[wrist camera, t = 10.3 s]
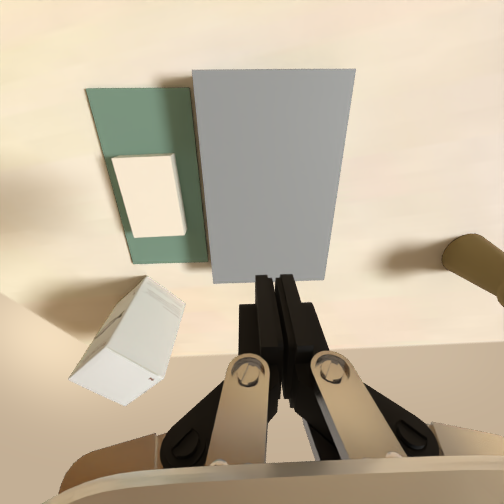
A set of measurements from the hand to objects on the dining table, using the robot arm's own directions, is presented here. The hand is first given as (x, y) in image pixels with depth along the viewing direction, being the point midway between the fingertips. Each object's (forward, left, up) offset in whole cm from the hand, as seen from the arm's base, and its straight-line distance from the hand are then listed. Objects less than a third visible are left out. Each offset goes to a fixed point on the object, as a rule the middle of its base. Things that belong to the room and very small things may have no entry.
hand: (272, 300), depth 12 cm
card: (+1, -11, -19) cm, 22 cm away
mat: (0, -11, -21) cm, 24 cm away
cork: (+10, +30, -22) cm, 38 cm away
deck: (0, +2, -21) cm, 21 cm away
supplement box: (+17, -15, -22) cm, 32 cm away
